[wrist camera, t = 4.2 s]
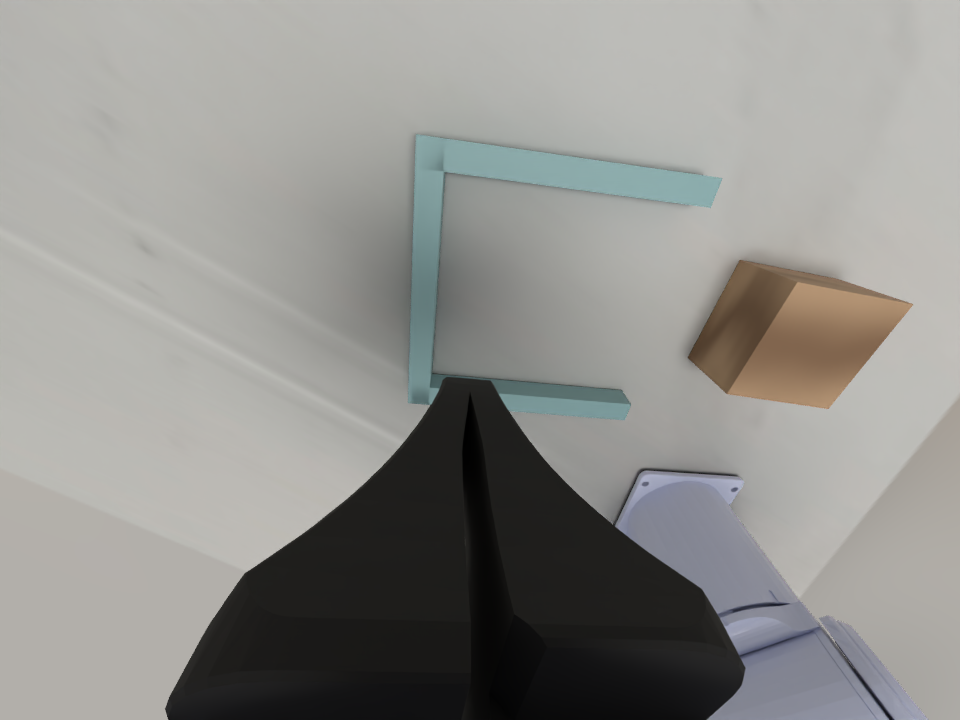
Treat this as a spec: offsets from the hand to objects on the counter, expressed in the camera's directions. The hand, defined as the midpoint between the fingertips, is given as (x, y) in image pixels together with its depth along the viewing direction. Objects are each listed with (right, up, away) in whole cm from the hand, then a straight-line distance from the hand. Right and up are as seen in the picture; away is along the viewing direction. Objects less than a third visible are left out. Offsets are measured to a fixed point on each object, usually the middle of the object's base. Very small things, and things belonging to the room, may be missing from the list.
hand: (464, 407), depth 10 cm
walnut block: (+17, +4, +11) cm, 20 cm away
